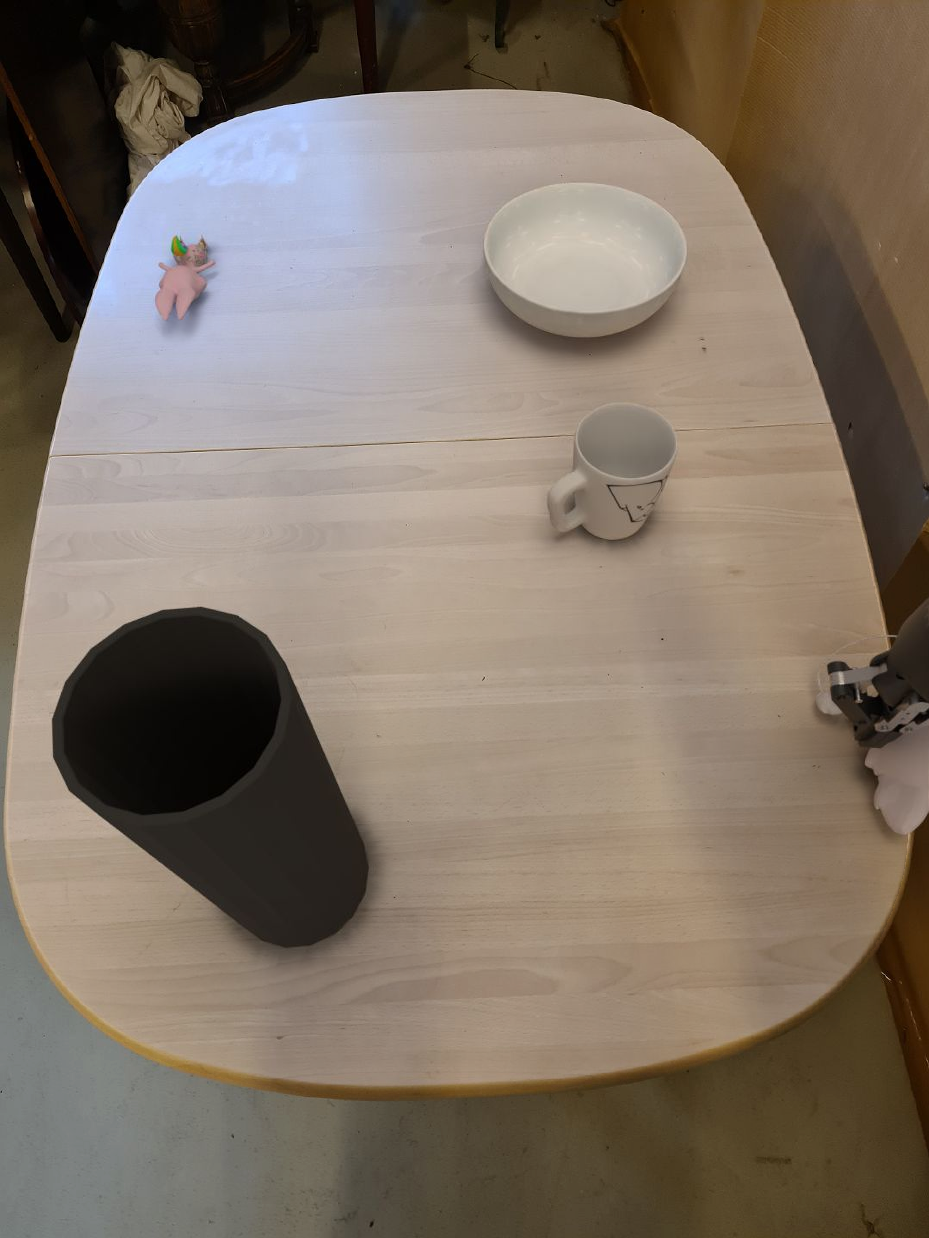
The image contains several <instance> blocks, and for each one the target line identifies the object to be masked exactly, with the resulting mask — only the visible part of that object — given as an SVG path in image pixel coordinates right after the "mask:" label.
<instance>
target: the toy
mask: <svg viewBox="0 0 929 1238" xmlns="http://www.w3.org/2000/svg"><path fill="white" fill-rule="evenodd" d="M896 637H897V635H894V634H880V635H874V636H870V637H865V638H862V639H859V640H856V641H853V642H850V643H849V644H846V645H843V646H841V647H840V648H838V649H837V650H835V651H834V652H833V653H831V654H830V655H829V656H828V657H826V658H825V660H824V661H823V662H822V663H821V664H820V667H819V670H818V673H817V677H816V678H817V683H818V686H819V687H818V688H819V690H820V691H821V692H819V693H818V694H816V695H817V696H816V697H815V704H816V706H817V708H818V709H819V711H821V712H822V713H823V714H825V715H826V714H827V715H831V716H838V715H839V716H840V715H842V714H844V713H843V712H842V711H841V710H840V709H839V708H838V707H837V706H836V704H835V703H834V702H833V701H832V700H831V693H830V692H828V691H824V690H823V687H822V685H821V684H822V683H821V678H820V675H821V671H822V668H823V666H824V665H825V664H826V663H827V661H828V660H829V659H830V658H831V657H833V656H835V654H837V653H838V652H841V651H842V650H844V649H845V648H846V649H847V647H851V646H852V645H855V644H858V643H861V642H864V641H868V640H874V639H879V638H896ZM845 718H846V719H848V718H847V717H846V716H845ZM864 766H866V767H867V768H869V769H871V770H873V773H874V775H875V776H876V777H877V780H878V785H877V786H876V789H875V791H874V795H873V806H874V808H875V809H876V810H880V811H881V814H882V816H883V820H884V821H885V823H886V824H887V827H889V828H890V829H891V830H892V831H893V832H894V833H895V834H898V835H900V836H907V835H909V834H911V833H912V832H914V831H915V830H916V829H917V828H918V827H919V826H920V825H921V824H922V823H923V822H924V820H925V819H926V817H927V816H928V814H929V726H925V727H923V728H922V729H920V730H919V731H917V732H915V733H911V734H905V733H903V734H902V735H901V736H900V737H898V738H897V739H896V740H894V741H892V742H889V743H887V744H886V745H885V746H883V747H882V748H869V750H868V752H867V755H866V756H865V760H864Z"/></svg>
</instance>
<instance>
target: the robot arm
mask: <svg viewBox="0 0 929 1238" xmlns="http://www.w3.org/2000/svg"><path fill="white" fill-rule="evenodd" d="M896 636H897V637H895V640H894V642H893V644H892V646H891V648H889V649H888V650H885V651H883V652H880V653H878V654H876V655H874V656H873V657H871V660H870V661H869V664H868V666H865V667H864V666H863V667H859V668H858V667H857V666H852V667H849V665H848V664H847V663H846V661H841V660H835V661H831V662H829V663H827V664H826V672H827V676H828V686H829V693H830V694H831V700H832V701H833V702H834V703H835V704H836V706H837V707H838V708H839V709H840V710H841V711H842V712H843V713H842V714H843V715H844V716H845V718H846V717H847V718H846V719H848V720H849V722H851V724H852V730H853V736H854V741H857V742H858V746H859V747H860V748H867V749H868V748H869V749H871V748H882V747H883V746H885V745H886V744H887V743H889V742H892V741H894V740H896V739H897V738H898V737H900V736H901V735H902V734H903V733H905V734H911V733H915V732H917V731H919V730H920V729H922V728H923V727H925V726H929V596H928V597H927V598H926V599H925V600H924V601H923V602H922V603H921V604H920V605H919V606H918V607H917V608H916V609H915V610H914V611H913V612H912V613H911V614H910V616H908V617H907V618H906V620H905V621H904V622H903V623H902V625H901V627H900V628H899V630H898V633H897V635H896ZM871 686H873V687H874V689H875V690H874V691H873V693H872V694H871V695H868V688H869V687H871Z"/></svg>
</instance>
